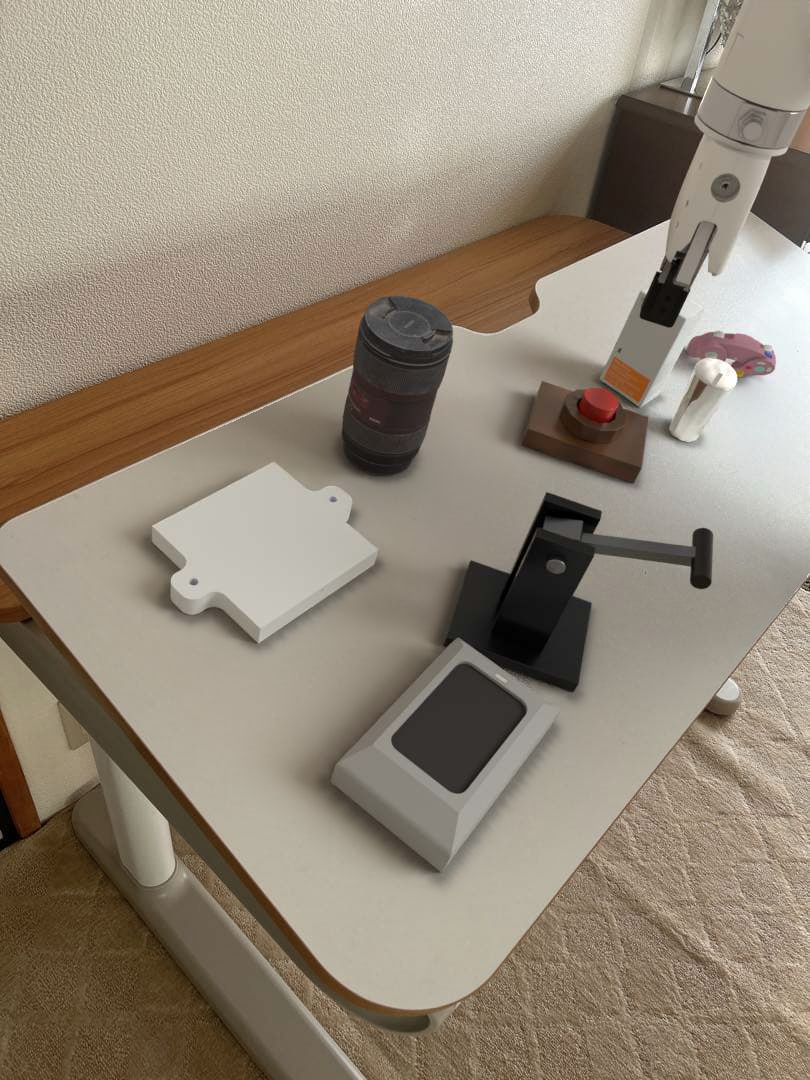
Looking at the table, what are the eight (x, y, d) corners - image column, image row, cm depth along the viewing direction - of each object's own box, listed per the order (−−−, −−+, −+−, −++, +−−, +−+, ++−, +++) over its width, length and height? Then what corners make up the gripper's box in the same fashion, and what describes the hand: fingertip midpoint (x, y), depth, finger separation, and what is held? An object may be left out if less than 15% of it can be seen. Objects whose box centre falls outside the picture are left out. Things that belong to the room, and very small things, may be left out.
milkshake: (658, 439, 96) (699, 365, 88) (666, 413, 99) (706, 339, 92) (698, 456, 95) (742, 382, 88) (705, 429, 99) (748, 356, 92)
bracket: (587, 610, 77) (646, 508, 67) (573, 692, 70) (636, 591, 61) (467, 568, 77) (509, 460, 68) (442, 646, 71) (485, 538, 62)
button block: (640, 432, 96) (655, 403, 93) (633, 483, 90) (649, 454, 87) (535, 396, 96) (547, 366, 94) (521, 445, 90) (533, 414, 87)
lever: (710, 547, 66) (715, 523, 64) (708, 595, 62) (714, 571, 61) (547, 526, 69) (548, 503, 67) (536, 571, 65) (537, 547, 64)
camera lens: (320, 457, 83) (344, 322, 72) (359, 414, 88) (388, 282, 77) (396, 495, 81) (433, 362, 71) (431, 448, 87) (470, 319, 76)
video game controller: (679, 373, 108) (703, 345, 102) (684, 341, 110) (709, 312, 103) (755, 395, 109) (785, 368, 102) (760, 363, 110) (789, 334, 103)
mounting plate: (232, 661, 66) (234, 646, 64) (125, 556, 70) (125, 539, 69) (394, 550, 77) (398, 536, 75) (292, 466, 81) (294, 450, 80)
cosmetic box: (597, 380, 101) (638, 289, 92) (616, 368, 103) (658, 278, 95) (640, 410, 99) (686, 319, 90) (659, 397, 101) (706, 307, 93)
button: (613, 407, 92) (620, 394, 90) (610, 427, 89) (616, 414, 88) (580, 396, 92) (586, 382, 90) (576, 416, 89) (582, 402, 88)
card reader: (338, 755, 58) (461, 626, 68) (330, 781, 61) (450, 653, 70) (455, 849, 55) (566, 700, 65) (441, 872, 58) (550, 726, 68)
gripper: (800, 165, 63) (691, 375, 76) (792, 99, 73) (697, 293, 86) (698, 134, 63) (607, 348, 76) (704, 72, 73) (624, 270, 87)
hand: (655, 318), depth 81 cm, fingers closed
